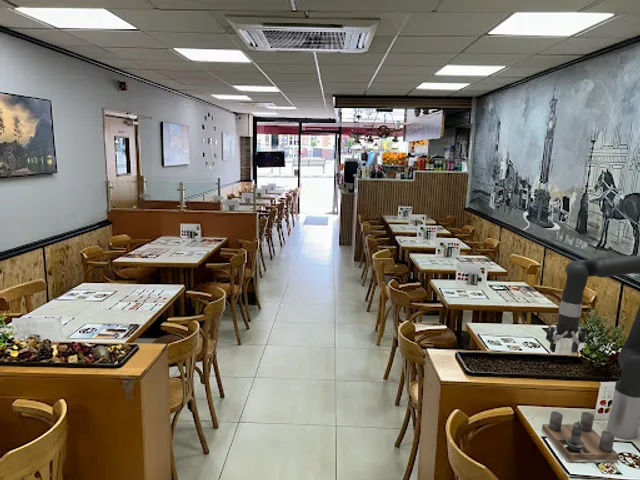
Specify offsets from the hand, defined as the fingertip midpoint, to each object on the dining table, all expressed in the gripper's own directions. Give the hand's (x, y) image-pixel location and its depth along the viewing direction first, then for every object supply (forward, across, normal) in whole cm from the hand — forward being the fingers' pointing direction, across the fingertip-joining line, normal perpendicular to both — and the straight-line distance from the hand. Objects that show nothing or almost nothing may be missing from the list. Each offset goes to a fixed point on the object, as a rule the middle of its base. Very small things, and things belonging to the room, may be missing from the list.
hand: (563, 352), depth 191 cm
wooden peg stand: (+28, 0, +19) cm, 34 cm away
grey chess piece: (+27, +5, +23) cm, 36 cm away
